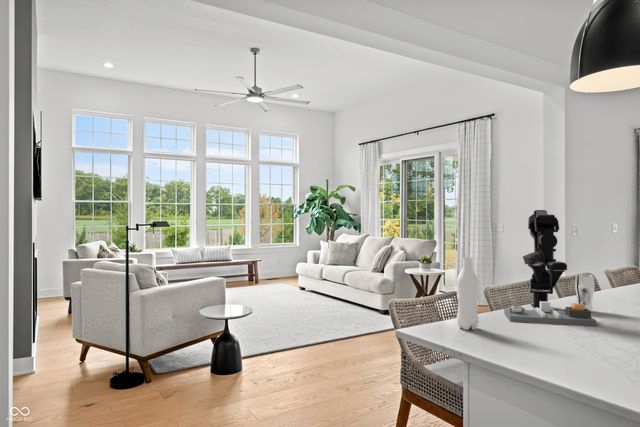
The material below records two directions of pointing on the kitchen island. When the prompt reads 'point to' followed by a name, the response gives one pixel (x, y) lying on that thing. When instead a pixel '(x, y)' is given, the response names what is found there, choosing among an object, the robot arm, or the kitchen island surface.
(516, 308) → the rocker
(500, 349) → the kitchen island surface
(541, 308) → the cream rectangular brick
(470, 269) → the water bottle
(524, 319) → the panel
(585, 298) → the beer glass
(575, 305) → the button
